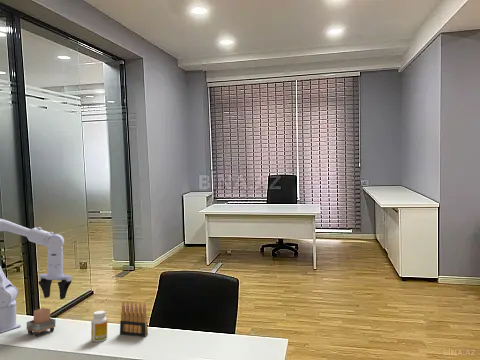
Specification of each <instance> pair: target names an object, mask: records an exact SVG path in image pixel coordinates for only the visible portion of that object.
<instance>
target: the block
mask: <svg viewBox="0 0 480 360" xmlns="http://www.w3.org/2000/svg"><path fill="white" fill-rule="evenodd" d="M50 318H51V309H50V308H46V307H42V308H39V309H35V310H33V320H34V323H35V324H42V323H45V322H48V321H50Z"/></svg>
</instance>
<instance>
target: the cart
mask: <svg viewBox="0 0 480 360" xmlns="http://www.w3.org/2000/svg"><path fill="white" fill-rule="evenodd" d="M55 328H56V319H55V318H51V317H50V321H48V322H45V323H42V324H35V323H34V319H32V320H29V321H27V322H26V330H27V334H28V335H31V334H32V333H35V337H39V336H41V333H42V332H45V331H47V330H50V331H51V332H53V331H55Z"/></svg>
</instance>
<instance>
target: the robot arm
mask: <svg viewBox="0 0 480 360" xmlns="http://www.w3.org/2000/svg"><path fill="white" fill-rule="evenodd" d="M0 232H9V233H11V234H16V235H20V236H23V237H26V238H27V240H28V242H32V243H34V244H38V245H41V246H44V247H46V248H47V261H46V262H47V263H46V264H47V267H46V268H47V269H46V271H47V273H41V274H38V280H39V281H38V285H39V286H40V288H41V291H42V294H43V298H44V299H46V298H50V295H51V286H52V283H53V281H59V282H57V285H58V290H59V299H60V300H64V299H65V298H66V295H67V292H68V289H69V287H70V285H71V283H72V280H73V276H72V275H68V274H64V247H63V245H64V243H65V238H64V237H63V235H61V234H59V233H54V232H53V231H47V230H44V229H43V228H42V227H41V226H38V227H33V228H28V227H25V226H23V225H20V224H17V223H14V222H12V221H9V220H7V219H3V218H0ZM18 295H19V290H18V287H16V286H15V285H13V283H12V281H10V280H9V279H8V278H7V277H6V274H5V273H4V271H3V268H2V266H1V265H0V333H4V332H7V331H11V330H13V329H16V328H20V327H22V325H21V324H20V323H17V301H16V299H17V297H18Z"/></svg>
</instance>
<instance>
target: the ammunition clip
mask: <svg viewBox="0 0 480 360" xmlns="http://www.w3.org/2000/svg"><path fill="white" fill-rule="evenodd" d="M120 316H121V317H120V322H119V323H120V325H119V335H122V336H133V337H142V338H146V337H147V336H149V334H148V333H149V332H148V331H149V330H148V329H149V328H148V320H147V319H148V318H147V317H148V316H147V306H146V303H143V306H142V302H139V305H138V304H137V302H135V304H134V303H133V302H131V303H130V304H129V302H128V301H127V302H126V304H125V301H123V302H122V304H121V311H120Z"/></svg>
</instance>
